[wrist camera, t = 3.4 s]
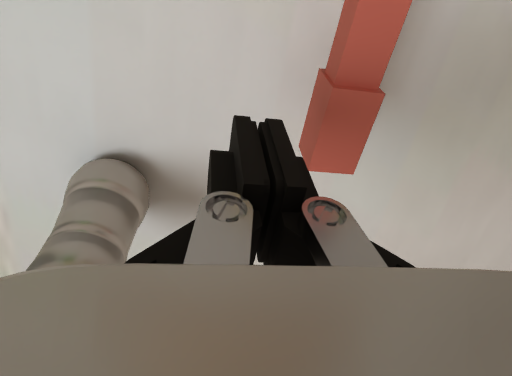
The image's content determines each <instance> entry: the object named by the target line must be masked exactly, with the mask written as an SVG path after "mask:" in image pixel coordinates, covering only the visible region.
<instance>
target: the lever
mask: <svg viewBox="0 0 512 376" xmlns="http://www.w3.org/2000/svg"><path fill="white" fill-rule="evenodd" d="M411 3H412V0H345V2H344V5H343V9H342V12H341V16H340V20H339V23H338V27H337V30H336V34H335V38H334V41H333V45H332V48H331V52H330V56H329V59H328V63H327V66H326V69H320V68H319V71H318V75H317V79H316V83H315V86H314V90H313V94H312V98H311V101H310V105H309V109H308V113H307V116H306V120H305V124H304V128H303V131H302V135H301V139H300V143H299V148H300V151H301V153H302V156H303V159H304V161H305V164H306V166H307V169H308V171H316V172H329V173H342V174H354V171H355V169H356V166H357V164H358V161H359V159H360V156H361V154H362V151H363V149H364V146H365V144H366V141H367V139H368V136H369V134H370V131H371V129H372V126H373V124H374V121H375V119H376V116H377V114H378V111H379V109H380V106H381V104H382V101H383V99H384V96H385V93H384V92H383V91H382V90H381V89H380V88H379V86H380V83H381V81H382V78H383V75H384V73H385V70H386V68H387V65H388V62H389V60H390V57H391V55H392V52H393V49H394V47H395V44H396V42H397V39H398V36H399V34H400V31H401V29H402V26H403V23H404V21H405V18H406V16H407V13H408V10H409V8H410V5H411Z"/></svg>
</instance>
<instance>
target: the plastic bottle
mask: <svg viewBox="0 0 512 376" xmlns="http://www.w3.org/2000/svg"><path fill="white" fill-rule="evenodd" d="M148 208H149V187H148V184H147V182H146V180H145V179H144V177H143V176H142V175H141V174H140V173H139V172H138V170H137V169H135V168H134V167H133V166H131V165H129V164H128V163H126V162H123V161H120V160H116V159H97V160H93V161H90V162H88V163H86V164H84V165H83V166H82V167H81V168H80V169H79V170H78V171H77V172H76V173H75V174H74V175H73V176H72V177H71V179H70V181H69V183H68V186H67V189H66V192H65V196H64V201H63V206H62V208H61V211H60V213H59V216H58V218H57V221H56V223H55V226H54V228H53V231H52V233H51V234H50V236H49V237H48V239H47V241H46V242H45V244H44V245H43V247H42V249H41V250H40V252H39V253H38V255H37V256H36V258H35V260H34V261H33V262H32V263H31V265H30V266H29V267H28V268H27V270H26V271H30V270H36V269H42V268H49V267H55V266H68V265H80V264H124V263H125V262H126V260H127V255H128V251H129V249H130V246H131V244H132V241H133V239H134V236H135V233H136V231H137V228H138V227H139V226H140V224H141V223H142V221H143V219H144V217H145V214H146V212H147V210H148Z"/></svg>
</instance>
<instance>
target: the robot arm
mask: <svg viewBox="0 0 512 376" xmlns="http://www.w3.org/2000/svg"><path fill="white" fill-rule="evenodd" d="M256 252H257V259H258V262H263V263H264V265H253V263H254V260H255V256H256ZM0 376H512V271H500V270H482V269H443V268H416V267H414V266H413V265H411V264H410V263H408V262H406V261H404V260H403V259H401V258H399V257H398V256H396V255H394V254H392V253H391V252H389V251H387V250H386V249H384V248H382V247H380V246H379V245H377V244H375V243H374V242H372V241H370V240H369V239H368V237H367V236H366V234H365V233H364V231H363V230H362V229H361V227H360V226H359V224H358V223H357V221H356V220H355V219H354V217H353V216H352V214H351V213H350V211H349V210H348V209H347V208H346V207H345V206H344V205H342V204H341V203H339V202H338V201H335V200H333V199H331V198H327V197H319V196H318V193H317V191H316V188H315V186H314V183H313V181H312V179H311V176H310V174H309V171H308V169H307V166H306V164H305V161H304V159H303V158H302V157H296V156H295V153H294V150H293V148H292V145H291V142H290V140H289V137H288V135H287V132H286V129H285V127H284V124H283V121H282V120H278V119H268V118H266V119H265V122H260V123H259V126H258V129H257V125H256V121H251V119H250V117H247V116H237V115H234V117H233V124H232V132H231V140H230V148H229V151H217V150H210V158H209V169H208V185H207V196H205V197H204V198H203V199H202V201H201V203H200V205H199V209H198V212H197V216H196V219H195V220H193V221H192V222H190V223H188V224H187V225H185V226H183V227H182V228H180V229H178V230H177V231H175V232H173V233H172V234H170V235H168V236H167V237H165V238H164V239H162V240H160V241H159V242H157V243H155V244H154V245H152V246H150V247H149V248H147V249H145V250H144V251H142V252H140V253H139V254H137V255H136V256H134V257H132V258H131V259H129V260H128V261H126V262H125V263H124V264H80V265H68V266H55V267H49V268H42V269H36V270H30V271H24V272H20V273H16V274H12V275H8V276H5V277H1V278H0Z"/></svg>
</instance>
